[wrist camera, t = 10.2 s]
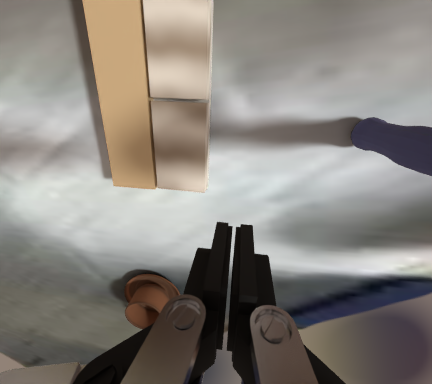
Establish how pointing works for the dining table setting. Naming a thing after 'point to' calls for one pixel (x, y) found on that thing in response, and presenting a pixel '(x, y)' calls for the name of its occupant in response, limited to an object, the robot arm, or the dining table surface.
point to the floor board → (127, 89)
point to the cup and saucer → (147, 298)
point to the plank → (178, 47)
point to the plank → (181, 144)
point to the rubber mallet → (396, 143)
